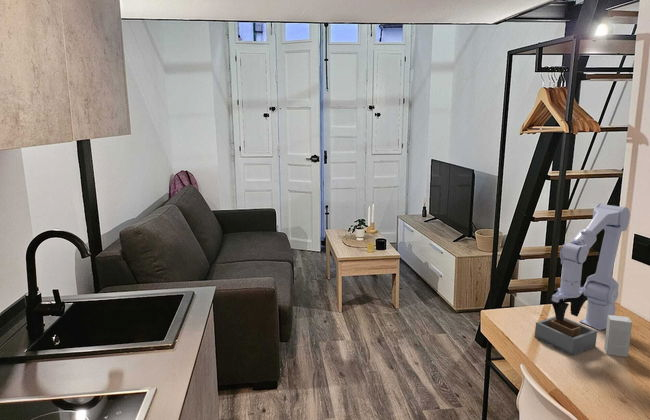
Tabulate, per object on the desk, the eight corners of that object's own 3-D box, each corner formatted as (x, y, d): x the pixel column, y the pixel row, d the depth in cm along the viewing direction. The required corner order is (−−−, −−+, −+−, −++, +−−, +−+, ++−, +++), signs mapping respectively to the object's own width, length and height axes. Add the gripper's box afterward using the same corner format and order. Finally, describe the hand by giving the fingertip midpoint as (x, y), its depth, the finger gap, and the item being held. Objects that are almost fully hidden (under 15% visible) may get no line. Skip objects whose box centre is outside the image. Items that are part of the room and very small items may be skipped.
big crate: (557, 329, 167) (559, 315, 166) (595, 346, 155) (597, 331, 154) (534, 337, 162) (535, 322, 161) (571, 355, 150) (573, 339, 149)
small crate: (558, 332, 163) (560, 317, 162) (580, 342, 156) (581, 326, 155) (548, 335, 161) (550, 320, 160) (570, 345, 154) (571, 330, 153)
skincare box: (624, 351, 152) (629, 316, 150) (628, 357, 148) (632, 322, 146) (603, 348, 154) (607, 314, 152) (606, 354, 150) (610, 319, 148)
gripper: (573, 271, 161) (570, 308, 164) (545, 279, 154) (541, 317, 157) (593, 278, 155) (589, 316, 157) (564, 286, 148) (560, 326, 151)
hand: (566, 317), depth 157 cm, fingers open, 7 cm apart
